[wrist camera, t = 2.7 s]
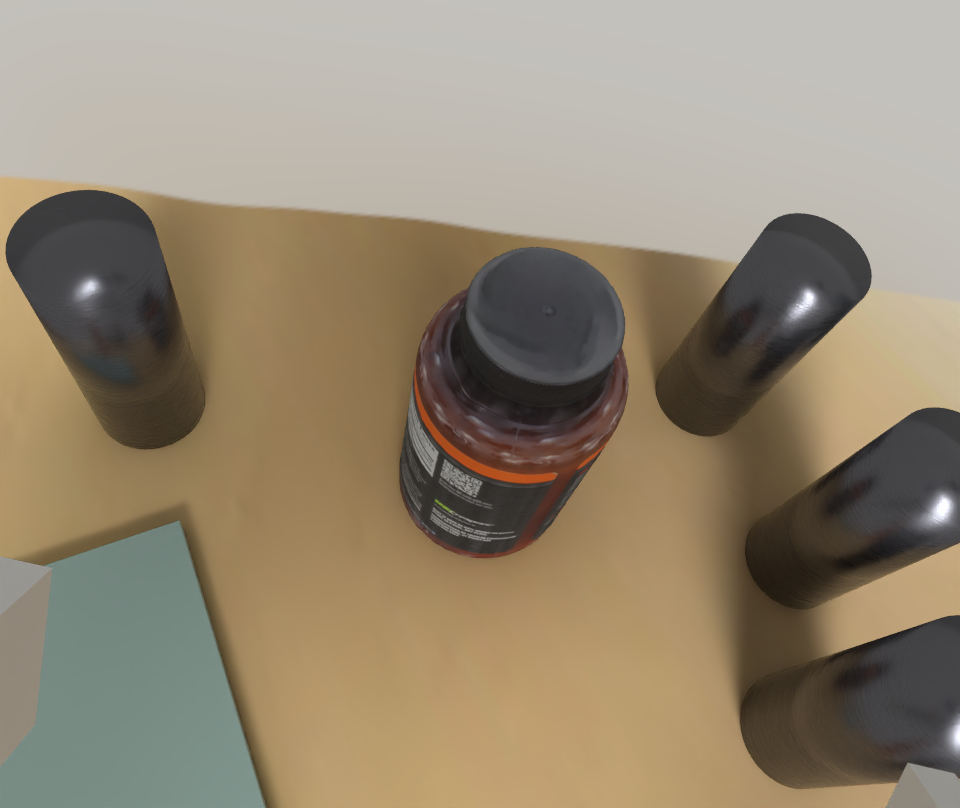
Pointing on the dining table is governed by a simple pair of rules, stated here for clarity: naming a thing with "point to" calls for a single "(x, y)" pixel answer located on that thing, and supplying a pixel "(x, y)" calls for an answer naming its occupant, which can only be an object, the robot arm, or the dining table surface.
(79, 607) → the board
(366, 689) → the dining table surface
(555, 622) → the dining table surface
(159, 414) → the spacer posts
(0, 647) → the robot arm
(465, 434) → the supplement bottle
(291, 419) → the dining table surface
